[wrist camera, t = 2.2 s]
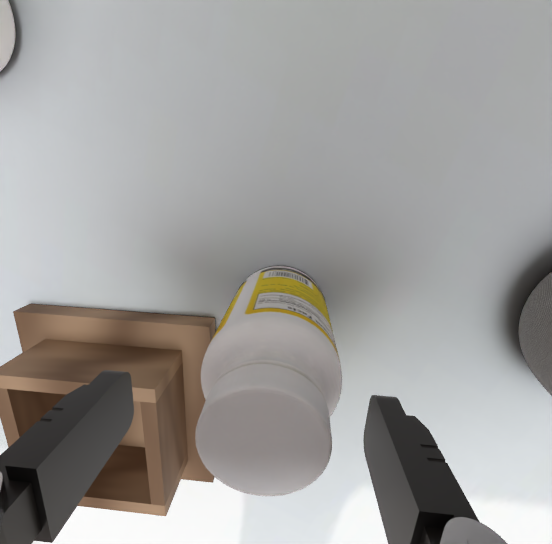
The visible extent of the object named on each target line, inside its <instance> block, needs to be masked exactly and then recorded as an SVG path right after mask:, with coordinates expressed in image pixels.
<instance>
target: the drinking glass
mask: <svg viewBox="0 0 552 544" xmlns="http://www.w3.org/2000/svg"><path fill="white" fill-rule="evenodd" d="M14 45H15V22H14V17H13V13H12V10H11V6H10V4H9V1H8V0H0V71H1V70H2V69H3V68H4V67H5V66H6V65H7V63H8V62H9V60H10V58H11V56H12V53H13V50H14Z"/></svg>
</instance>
